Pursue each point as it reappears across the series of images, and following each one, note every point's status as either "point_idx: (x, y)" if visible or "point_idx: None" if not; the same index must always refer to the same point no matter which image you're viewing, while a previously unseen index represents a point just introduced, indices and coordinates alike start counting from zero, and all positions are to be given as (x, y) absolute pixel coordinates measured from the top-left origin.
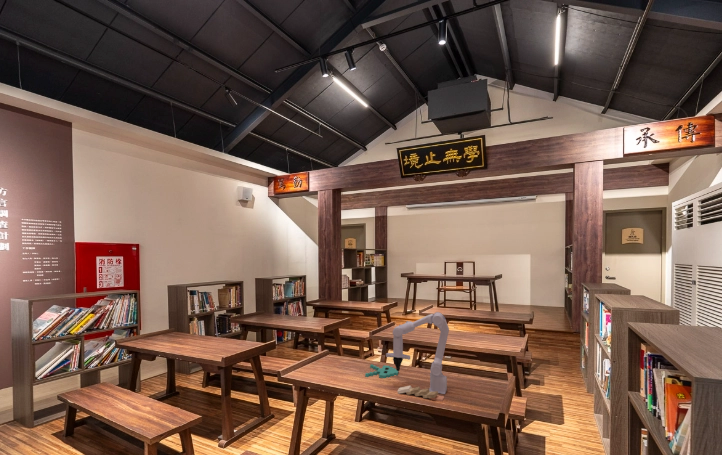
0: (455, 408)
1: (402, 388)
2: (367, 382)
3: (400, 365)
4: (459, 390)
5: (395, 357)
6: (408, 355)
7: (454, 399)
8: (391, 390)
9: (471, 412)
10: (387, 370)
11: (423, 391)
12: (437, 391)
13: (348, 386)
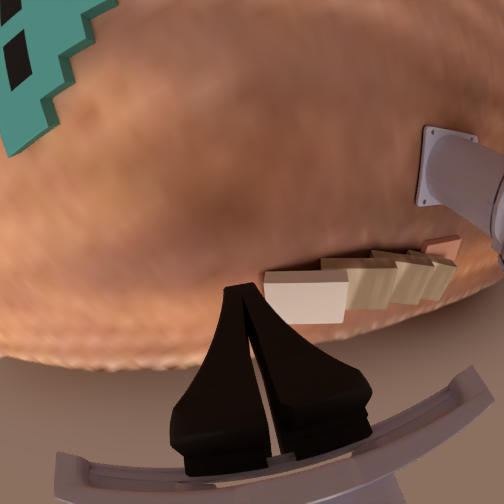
0: (462, 288)
1: (295, 305)
2: (29, 268)
3: (278, 316)
4: (499, 130)
5: (240, 478)
6: (476, 416)
7: None
8: (214, 295)
9: (482, 284)
10: (19, 21)
11: (407, 299)
12: (456, 267)
13: (30, 345)
